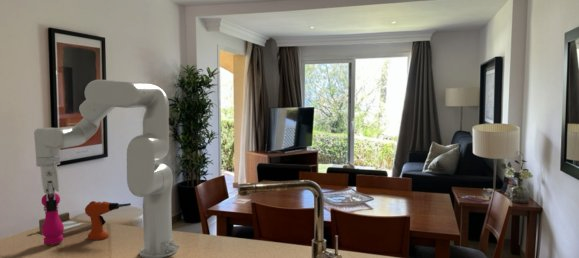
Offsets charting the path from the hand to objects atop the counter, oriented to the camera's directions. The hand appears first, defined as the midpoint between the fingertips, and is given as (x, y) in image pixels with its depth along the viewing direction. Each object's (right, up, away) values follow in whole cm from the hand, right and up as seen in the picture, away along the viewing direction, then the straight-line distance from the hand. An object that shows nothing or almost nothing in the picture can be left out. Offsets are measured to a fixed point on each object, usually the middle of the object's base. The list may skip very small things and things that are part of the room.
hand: (51, 208), depth 149 cm
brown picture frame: (-4, -12, +16) cm, 21 cm away
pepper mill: (0, -13, +1) cm, 13 cm away
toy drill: (+18, -13, +7) cm, 24 cm away
